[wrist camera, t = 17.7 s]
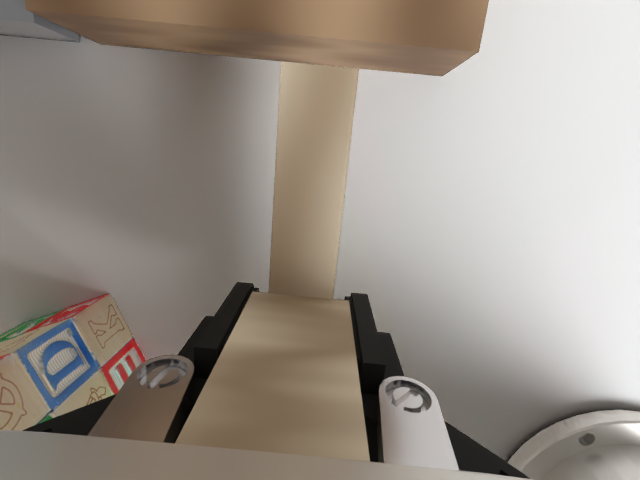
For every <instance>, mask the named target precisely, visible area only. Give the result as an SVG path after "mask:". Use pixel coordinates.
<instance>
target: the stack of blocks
mask: <svg viewBox="0 0 640 480" xmlns="http://www.w3.org/2000/svg"><path fill="white" fill-rule="evenodd" d="M143 362H145V359H144V357H143V355H142V353H141V351H140V349H139V347H138V346H137V344H136V342H135V340H134V338H133V336H132V334H131V332H130V330H129V328H128V326H127V324H126V322H125V320H124V319H123V317H122V315H121V313H120V311H119V309H118V307H117V306H116V304H115V302H114V300H113V298H112V296H111V295H110V294H106V295H103V296H100V297H97V298H94V299H91V300H88V301H85V302H82V303H80V304H76V305H74V306H71V307H68V308H65V309H64V310H62V311H59V312H56V313H53V314H49V315H46V316H43V317H40V318H37V319H34V320H31V321H29V322H25V323H22V324H20V325H18V326H16V327H14V328H12V329H10V330H9V331H7V332H5V333H3V334H1V335H0V430H14V431H22V430H25V429H27V428H29V427H31V426H34V425H37V424H39V423H42V422H44V421H47V420H50V419H52V418H55V417H57V416H60V415H63V414H65V413H68V412H70V411H73V410H76V409H78V408H81V407H83V406H86V405H89V404H91V403H94V402H96V401H99V400H102V399H104V398H107V397H109V396H112V395H115V394H117V393H118V392H119V390H120V389H121V387H122V386H123V384H124V383H125V382H126V380H127V379H128V377H129V376H130V375H131V373H132V372H133V371H134V370H135V369H136V368H137V367H138V366H139V365H140V364H142V363H143Z"/></svg>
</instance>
